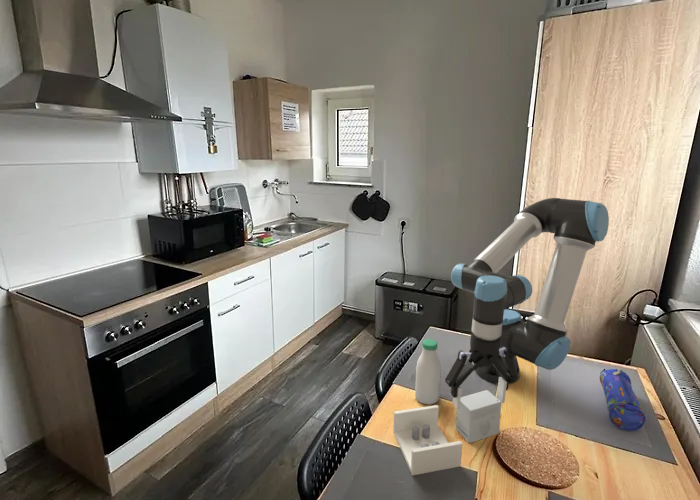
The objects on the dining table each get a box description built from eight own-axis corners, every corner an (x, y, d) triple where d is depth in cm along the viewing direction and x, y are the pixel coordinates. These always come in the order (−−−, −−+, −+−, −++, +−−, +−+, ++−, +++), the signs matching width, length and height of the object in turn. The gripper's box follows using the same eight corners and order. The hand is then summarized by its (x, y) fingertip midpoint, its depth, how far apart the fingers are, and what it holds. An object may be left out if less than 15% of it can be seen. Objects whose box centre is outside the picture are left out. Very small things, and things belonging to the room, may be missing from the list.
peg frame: (435, 425, 111) (437, 404, 109) (460, 466, 97) (462, 443, 95) (393, 432, 108) (393, 411, 106) (412, 475, 94) (413, 452, 92)
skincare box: (484, 419, 113) (487, 388, 110) (499, 433, 107) (503, 402, 105) (454, 428, 110) (456, 396, 107) (468, 443, 104) (471, 411, 101)
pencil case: (596, 386, 128) (601, 361, 126) (627, 392, 125) (632, 367, 122) (606, 428, 109) (612, 400, 106) (643, 438, 105) (650, 408, 103)
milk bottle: (439, 406, 119) (443, 349, 113) (414, 403, 120) (416, 347, 115) (438, 391, 126) (442, 337, 121) (415, 388, 127) (417, 335, 122)
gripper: (518, 323, 106) (510, 389, 112) (436, 331, 101) (431, 400, 107) (536, 336, 99) (526, 405, 105) (448, 345, 94) (442, 418, 100)
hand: (478, 403), depth 106 cm, fingers open, 13 cm apart
